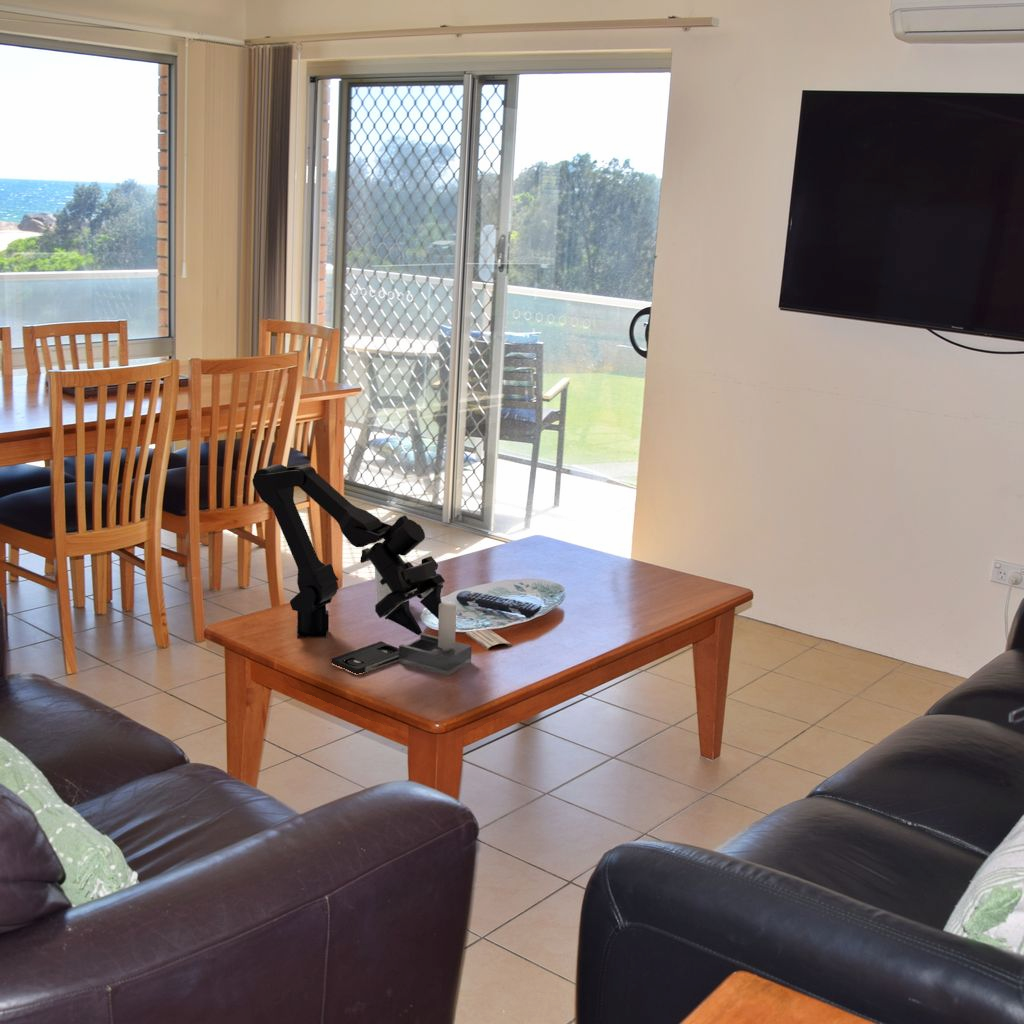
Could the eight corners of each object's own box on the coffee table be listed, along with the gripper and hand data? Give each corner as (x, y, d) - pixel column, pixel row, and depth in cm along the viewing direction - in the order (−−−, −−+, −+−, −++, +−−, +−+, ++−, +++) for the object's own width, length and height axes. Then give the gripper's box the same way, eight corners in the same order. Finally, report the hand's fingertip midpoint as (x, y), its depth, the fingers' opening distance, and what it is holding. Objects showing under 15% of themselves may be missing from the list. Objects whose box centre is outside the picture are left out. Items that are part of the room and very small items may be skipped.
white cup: (368, 605, 285) (368, 565, 283) (383, 595, 292) (384, 556, 290) (397, 610, 282) (398, 570, 280) (412, 600, 289) (413, 561, 287)
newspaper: (440, 618, 280) (440, 611, 280) (466, 614, 284) (466, 607, 283) (487, 653, 261) (488, 645, 260) (515, 648, 264) (516, 640, 264)
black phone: (357, 678, 244) (357, 669, 243) (331, 667, 249) (331, 658, 248) (406, 659, 254) (406, 651, 254) (380, 649, 259) (380, 641, 259)
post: (431, 663, 249) (432, 607, 246) (438, 655, 254) (439, 599, 250) (454, 666, 248) (455, 610, 245) (461, 658, 252) (462, 602, 249)
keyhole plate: (398, 662, 251) (399, 645, 250) (422, 649, 259) (423, 633, 258) (447, 675, 246) (448, 658, 245) (471, 662, 253) (471, 645, 252)
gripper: (388, 557, 241) (431, 620, 239) (439, 537, 257) (480, 596, 254) (356, 586, 247) (398, 648, 244) (408, 564, 262) (448, 622, 260)
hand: (432, 627), depth 251 cm, fingers open, 9 cm apart
